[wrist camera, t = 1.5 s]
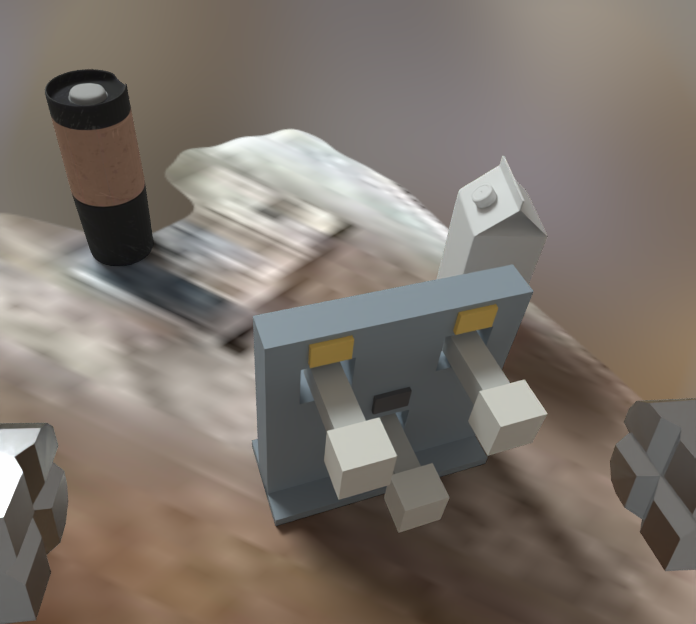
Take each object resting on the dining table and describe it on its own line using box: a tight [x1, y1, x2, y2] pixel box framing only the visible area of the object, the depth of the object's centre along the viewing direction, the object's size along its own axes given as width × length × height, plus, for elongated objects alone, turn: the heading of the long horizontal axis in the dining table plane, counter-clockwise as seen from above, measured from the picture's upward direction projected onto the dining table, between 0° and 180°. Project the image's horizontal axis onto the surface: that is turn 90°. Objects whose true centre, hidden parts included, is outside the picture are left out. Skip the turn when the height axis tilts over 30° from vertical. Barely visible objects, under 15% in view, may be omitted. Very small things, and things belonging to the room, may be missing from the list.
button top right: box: [442, 330, 547, 456], centre depth 47 cm, size 4×10×4 cm, turn 20°
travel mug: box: [45, 69, 153, 266], centre depth 68 cm, size 8×8×20 cm
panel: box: [252, 265, 533, 526], centre depth 52 cm, size 20×8×20 cm, turn 110°
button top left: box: [304, 362, 397, 500], centre depth 44 cm, size 4×10×4 cm, turn 20°
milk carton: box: [437, 156, 548, 285], centre depth 65 cm, size 7×7×19 cm
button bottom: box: [370, 413, 450, 533], centre depth 51 cm, size 4×10×4 cm, turn 20°
